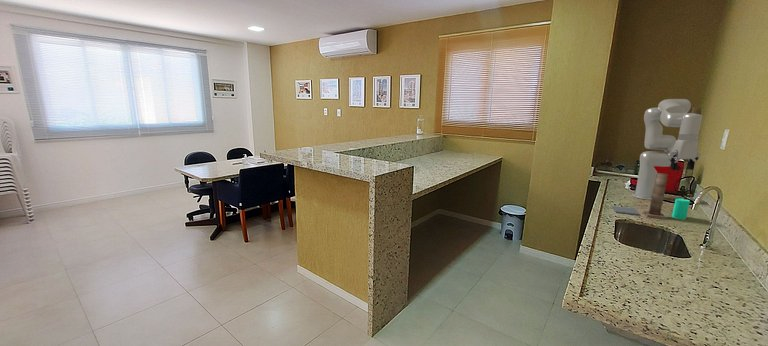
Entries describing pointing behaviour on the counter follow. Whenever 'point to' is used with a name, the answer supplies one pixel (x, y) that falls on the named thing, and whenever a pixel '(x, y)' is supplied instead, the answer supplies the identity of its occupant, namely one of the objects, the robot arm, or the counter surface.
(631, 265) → the counter surface
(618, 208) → the mat
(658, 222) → the counter surface
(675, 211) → the candle
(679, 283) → the counter surface
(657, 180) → the post
